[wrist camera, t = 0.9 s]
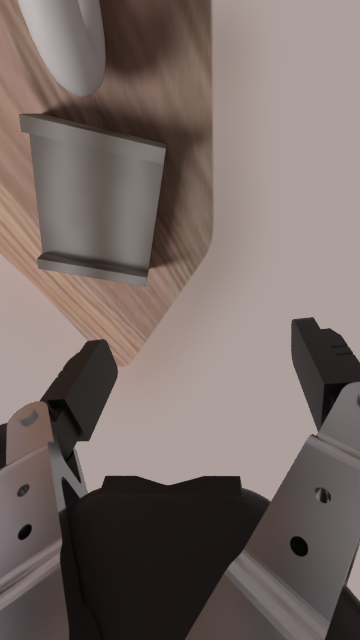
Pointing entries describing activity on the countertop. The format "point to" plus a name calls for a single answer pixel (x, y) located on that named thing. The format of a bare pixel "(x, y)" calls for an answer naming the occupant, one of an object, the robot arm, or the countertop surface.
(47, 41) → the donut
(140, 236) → the base
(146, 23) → the countertop surface
